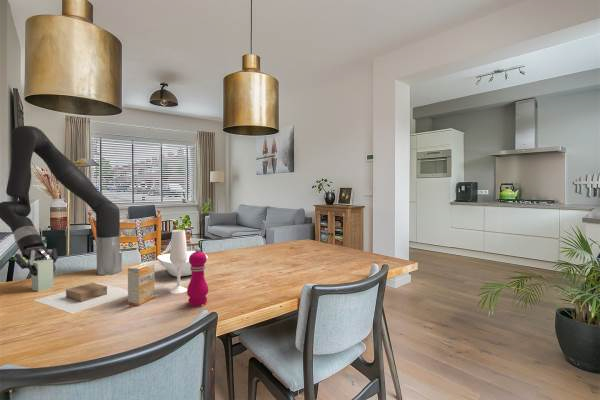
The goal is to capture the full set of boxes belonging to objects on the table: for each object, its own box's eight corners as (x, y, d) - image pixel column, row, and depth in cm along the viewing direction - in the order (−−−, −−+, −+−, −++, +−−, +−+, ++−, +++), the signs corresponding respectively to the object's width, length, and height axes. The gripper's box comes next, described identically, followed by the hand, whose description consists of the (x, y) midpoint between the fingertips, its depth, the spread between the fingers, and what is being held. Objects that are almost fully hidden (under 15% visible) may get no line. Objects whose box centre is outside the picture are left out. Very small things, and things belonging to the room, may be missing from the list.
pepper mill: (197, 308, 104) (197, 250, 103) (182, 304, 108) (182, 248, 107) (212, 301, 111) (212, 247, 110) (198, 298, 114) (198, 244, 113)
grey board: (98, 285, 127) (98, 282, 127) (136, 294, 116) (136, 292, 116) (33, 302, 107) (33, 300, 107) (72, 316, 96) (72, 313, 96)
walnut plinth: (92, 290, 118) (92, 282, 117) (107, 294, 114) (106, 286, 113) (66, 297, 109) (65, 289, 109) (80, 302, 106) (80, 293, 105)
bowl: (152, 273, 145) (152, 255, 144) (194, 266, 159) (194, 249, 158) (167, 284, 129) (167, 264, 129) (213, 275, 143) (213, 257, 143)
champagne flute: (167, 293, 118) (167, 232, 117) (172, 288, 124) (171, 229, 123) (185, 293, 119) (185, 231, 118) (189, 287, 125) (189, 229, 124)
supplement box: (139, 306, 106) (139, 268, 105) (127, 304, 107) (127, 267, 106) (155, 297, 114) (155, 262, 113) (143, 296, 115) (143, 261, 114)
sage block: (46, 285, 125) (46, 259, 124) (53, 287, 122) (52, 260, 122) (31, 289, 120) (31, 261, 120) (38, 291, 118) (37, 263, 117)
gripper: (8, 236, 117) (25, 271, 112) (52, 231, 130) (69, 263, 125) (2, 248, 120) (18, 283, 115) (46, 242, 133) (62, 274, 128)
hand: (44, 272), depth 120 cm, fingers closed on sage block, 5 cm apart
